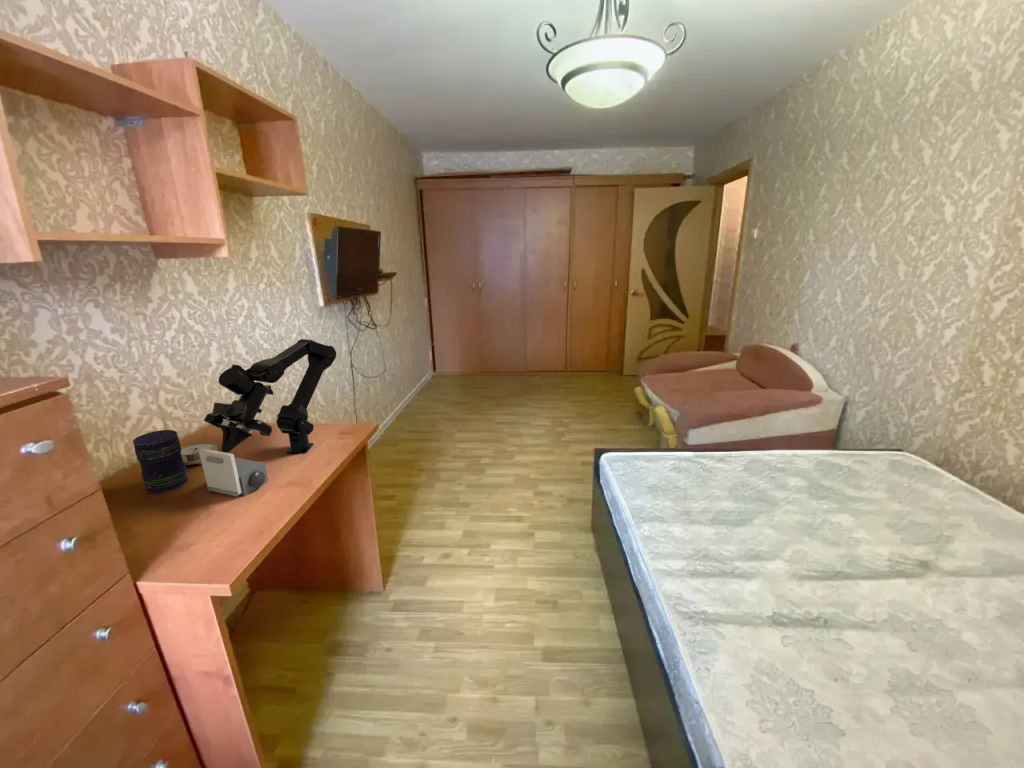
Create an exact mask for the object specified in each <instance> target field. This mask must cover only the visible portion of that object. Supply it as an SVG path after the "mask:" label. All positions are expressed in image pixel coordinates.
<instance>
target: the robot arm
mask: <svg viewBox="0 0 1024 768" xmlns="http://www.w3.org/2000/svg"><path fill="white" fill-rule="evenodd" d="M305 356H307V362H308V366H307V369H306V371H305V373H304V375H303V378H302V379H301V382H300V383H299V386H298V388H297V389H296V392H295V395H294V396H293V398H292V401H291V403H289V404H288V405H285V404H284V405H283V404H282V406H281V407H280V409H279V412H278V414H277V415H276V417H277V418H276V421H275V422H276V424H277V428H278V429H279V430H280V432H281V433H282V434H288V438H289V446H290V448H288V449H287V451H286V453H287V454H305V453H308V452H309V450H310V449H311V448H312V447H313V446H314V442H310V441H309V439H310V438H309V435H311V434H312V432H313V431H314V427H315V426H314V424H313V423H312V422H310V421H308V419H309V414H308V406H309V404H310V402H311V400H312V398H313V395H314V393H315V391H316V388H317V387H318V384H319V383H320V380H321V377H322V375H323V373H324V372H325V370H327V369H328V368H329V367H331V366H332V365H333V363H334V361H335V360H336V357H337V351H336V349H335V347H334V346H333V345H327V344H323V343H320V342H317V341H315V340H313V339H308V338H307V339H305V338H301V339H298V340H297V342H295V343H294V344H292V345H291V346H289V347H288V348H285V349H284V350H283V351H281V352H280V353H278V354H276V355H275V356H273V357H271V358H265V359H262V360H259V361H257V362H254V363H253V364H252V365H251V366H250V367H249V368H247V369H244V368H243V367H242V366H241V365H239V364H232V365H231V367H229V368H227V369H225V370H224V371H223V372H222V373H220V374H219V377H218V383H219V386H222V387H223V388H225V389H227V390H228V391H230V392H231V393H233V394H235V395H238V396H240V397H239V398H238V399H237V400H236V399H234V400H233V401H232V402H231V403H225V402H224V403H222V402H214V404H213V408H212V412H210V413H207V414H206V416H205V417H204V418H203V422H205V423H208V424H209V425H212V426H213V427H216V428H217V429H221V431H222V445H221V451H220V452H226V453H230V452H231V451H232V450H233V449H234V448H236V447H238V445H240V444H241V443H242V442H244V441H245V440H247V439H248V438H249V437H253V434H252V432H253V431H257V432H259V433H260V435H261V436H265V437H270V435H271V434H272V432H273V429H272V426H271V425H270V424H268V423H267V422H264V421H263V420H261V419H255V417H256V416H257V414H261V413H262V411H263V410H262V409H261V405H262V404H263V402H264V400H265V397H266V396H267V395H270V396H273V395H274V391H273V389H272V386H271V385H268V384H275V383H277V382H278V381H279V380H280V379H281V378H282V377H283V376H284V375H285V371H286V370H287V369H288V368H289V367H291V366H292V365H293V364H295V363H296V362H297V361H300V360H301V359H302V358H304V357H305ZM264 383H265V384H266V383H267V384H266V385H265V384H264Z"/></svg>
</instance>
